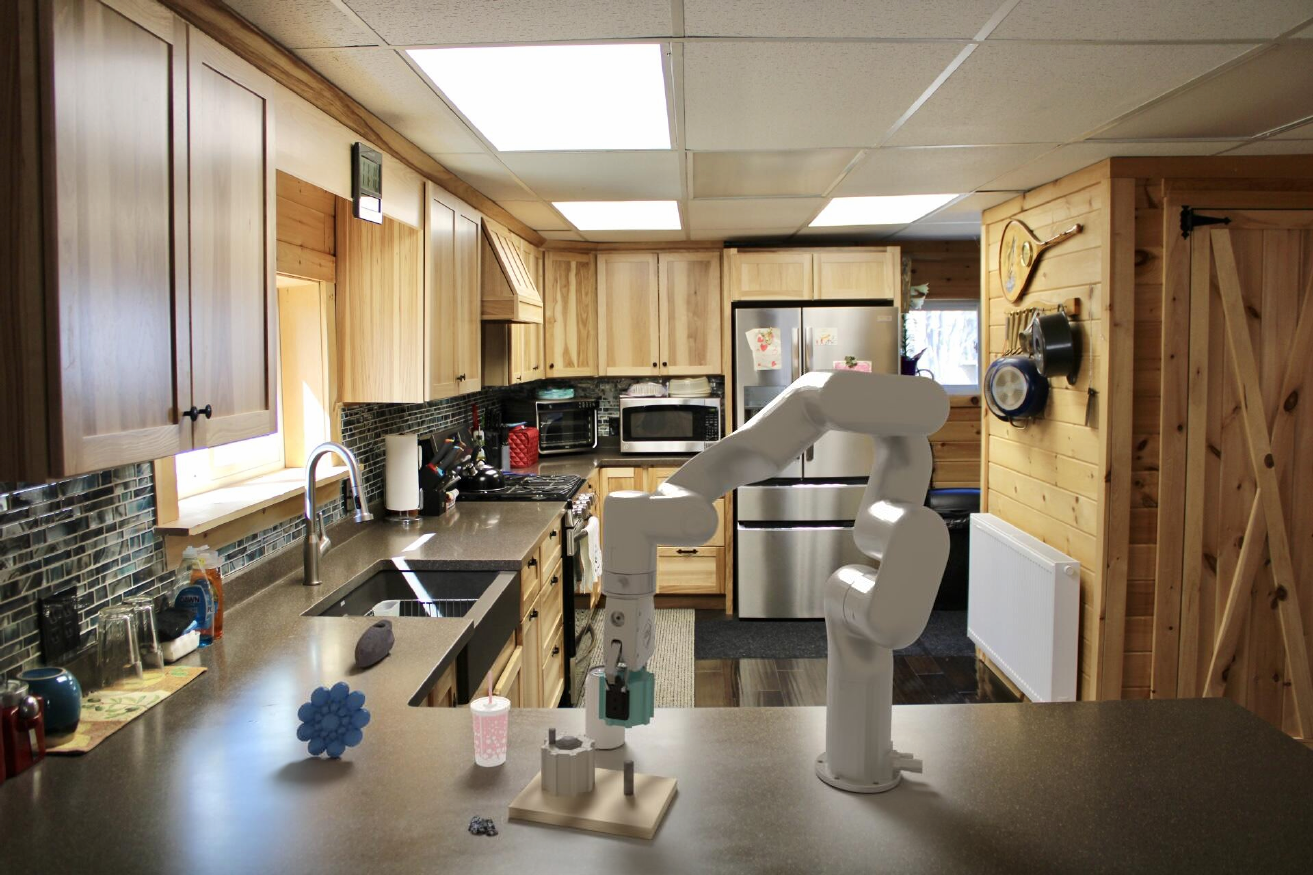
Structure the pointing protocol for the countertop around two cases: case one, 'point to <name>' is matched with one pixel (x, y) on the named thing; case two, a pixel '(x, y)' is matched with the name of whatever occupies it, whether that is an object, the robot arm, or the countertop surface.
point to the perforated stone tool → (374, 643)
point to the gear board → (602, 803)
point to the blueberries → (482, 826)
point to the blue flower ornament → (332, 720)
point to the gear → (567, 764)
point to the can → (593, 725)
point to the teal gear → (632, 698)
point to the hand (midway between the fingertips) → (626, 706)
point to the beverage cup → (490, 728)
